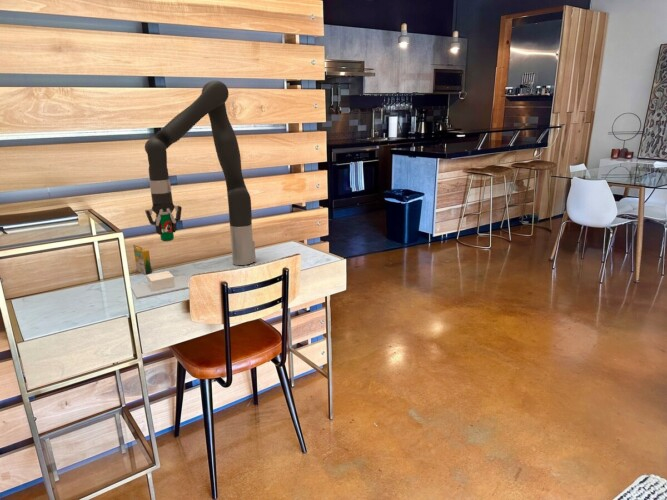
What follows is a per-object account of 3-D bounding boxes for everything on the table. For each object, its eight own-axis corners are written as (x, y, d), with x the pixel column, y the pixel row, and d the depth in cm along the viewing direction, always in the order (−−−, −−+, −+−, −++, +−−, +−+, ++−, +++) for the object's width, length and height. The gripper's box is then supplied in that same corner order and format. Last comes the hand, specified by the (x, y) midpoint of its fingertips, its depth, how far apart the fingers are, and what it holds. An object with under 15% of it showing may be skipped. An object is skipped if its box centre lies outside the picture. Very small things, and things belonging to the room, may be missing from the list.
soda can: (176, 238, 188) (172, 209, 185) (171, 241, 184) (167, 212, 180) (164, 238, 189) (160, 209, 185) (158, 241, 184) (154, 212, 181)
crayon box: (152, 272, 191) (148, 246, 188) (145, 274, 189) (141, 247, 186) (143, 269, 196) (139, 242, 192) (136, 271, 194) (132, 244, 190)
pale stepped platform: (183, 276, 186) (181, 265, 185) (193, 287, 175) (191, 276, 174) (130, 286, 176) (128, 275, 175) (137, 299, 165) (135, 287, 164)
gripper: (177, 187, 187) (182, 228, 192) (139, 191, 180) (146, 234, 185) (182, 190, 181) (187, 232, 186) (143, 194, 174) (150, 238, 179)
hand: (166, 232), depth 185 cm, fingers closed on soda can, 5 cm apart
